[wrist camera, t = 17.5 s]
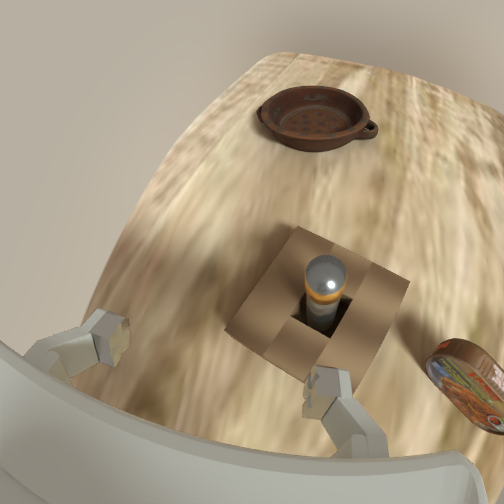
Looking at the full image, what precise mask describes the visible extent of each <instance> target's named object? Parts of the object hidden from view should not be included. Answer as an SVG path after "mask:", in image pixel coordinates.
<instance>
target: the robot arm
mask: <svg viewBox="0 0 504 504" xmlns="http://www.w3.org/2000/svg"><path fill="white" fill-rule="evenodd" d="M128 326H129V319H127V318H126V317H123V316H120V315H118V314H115V313H113V312H110V311H107V310H104V309H102V308H98V309H96V310H95V311H94V313H93V314H92V315H91V316H90V317H89V318H88V319H87V320H86V321H85V323H84V324H83V325H82V326H81V327H80V328H78V327H76V328H73V329H70V330H67V331H64V332H62V333H59V334H56V335H53V336H50V337H47V338H44V339H42V340H39V341H37V342H36V343H35V344H34V345H33V346H32V347H31V348H30V349H29V350H28V352H27V353H26V354H25V355H24V356H21V355H19V354H18V353H17V352H15V351H14V350H12V349H11V348H10V347H8V346H7V345H6V344H4V343H3V342H2V341H0V504H488V500H487V495H486V491H485V487H484V484H483V480H482V477H481V474H480V472H479V470H478V469H477V467H476V466H475V465H474V464H473V463H472V462H471V461H470V460H469V459H467V458H466V457H465V456H464V455H463V454H462V453H460V452H459V451H457V450H448V451H443V452H437V453H430V454H422V455H413V456H403V457H389V453H388V446H387V439H386V434H385V433H384V431H383V430H382V429H381V428H380V427H379V426H378V424H377V423H376V422H375V421H374V420H373V419H372V417H371V416H370V415H369V414H368V413H367V412H366V410H365V409H364V408H363V407H362V406H361V404H360V403H359V402H358V401H357V400H356V399H353V397H352V389H351V381H350V374H349V370H348V369H343V368H335V367H328V366H321V365H314V366H313V367H312V369H311V375H310V376H308V377H307V379H306V382H305V385H304V389H303V398H304V399H305V402H304V404H303V410H302V417H303V418H309V419H317V420H321V422H322V424H323V426H324V427H325V429H326V431H327V432H328V434H329V436H330V438H331V439H332V441H333V443H334V444H335V446H336V448H337V449H338V451H337V452H336V453H334V454H333V455H332V456H331V457H330V458H325V457H310V456H299V455H290V454H282V453H274V452H268V451H261V450H256V449H250V448H245V447H240V446H235V445H230V444H226V443H221V442H217V441H213V440H209V439H205V438H201V437H198V436H194V435H191V434H187V433H184V432H181V431H177V430H174V429H171V428H168V427H165V426H162V425H159V424H156V423H153V422H151V421H148V420H145V419H143V418H140V417H137V416H135V415H132V414H130V413H127V412H125V411H122V410H120V409H118V408H115V407H113V406H111V405H109V404H106V403H104V402H102V401H100V400H98V399H96V398H94V397H92V396H90V395H88V394H86V393H84V392H82V391H80V390H78V389H76V388H74V387H73V386H72V384H71V381H70V378H72V377H74V376H75V375H77V374H79V373H81V372H83V371H85V370H86V369H88V368H90V367H92V366H94V365H95V364H97V363H99V362H102V363H104V364H107V365H109V366H112V367H114V368H115V367H116V365H117V364H118V362H119V361H120V359H121V353H122V352H125V351H126V350H127V348H128V347H129V344H130V340H131V333H130V331H129V330H128V328H127V327H128Z"/></svg>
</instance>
